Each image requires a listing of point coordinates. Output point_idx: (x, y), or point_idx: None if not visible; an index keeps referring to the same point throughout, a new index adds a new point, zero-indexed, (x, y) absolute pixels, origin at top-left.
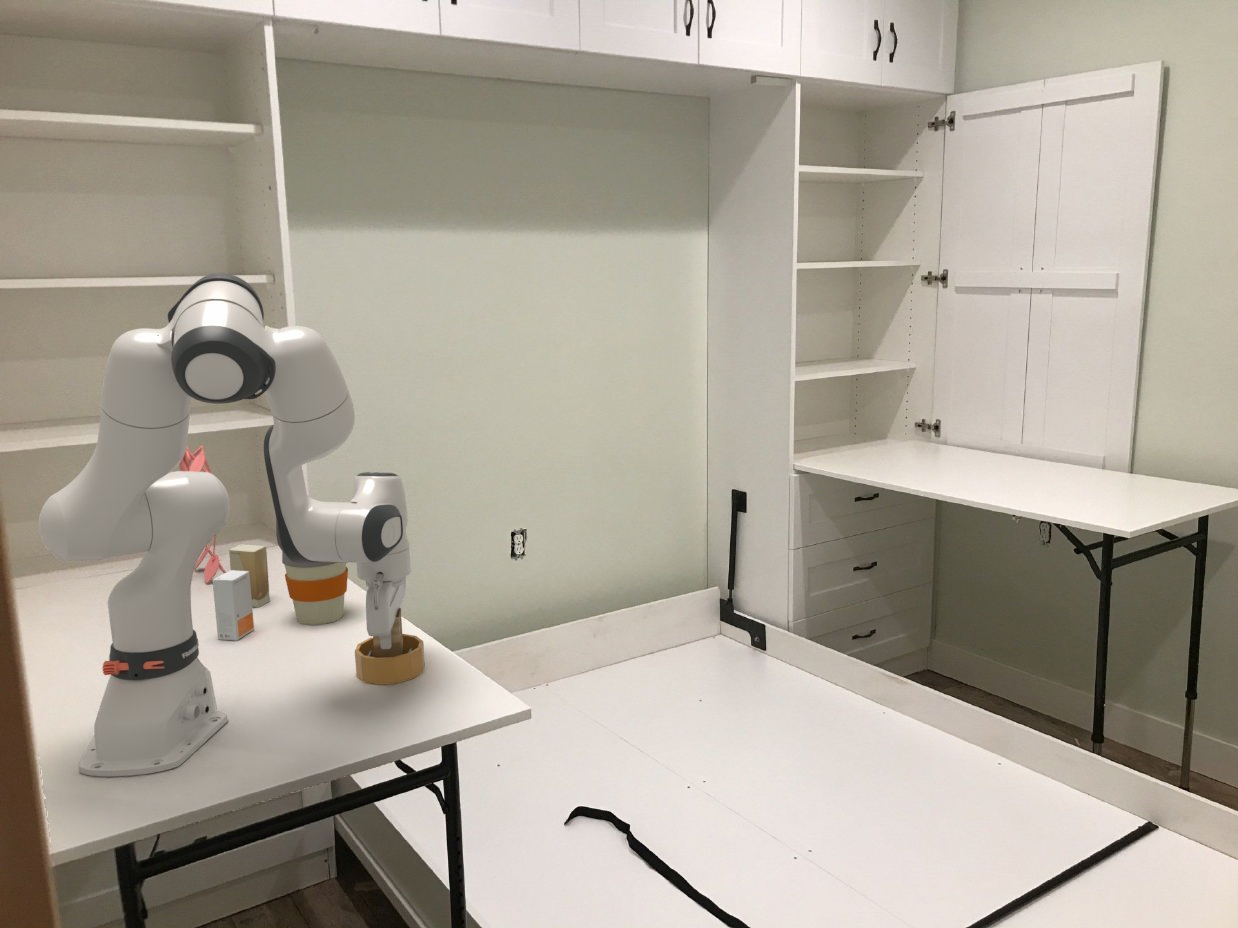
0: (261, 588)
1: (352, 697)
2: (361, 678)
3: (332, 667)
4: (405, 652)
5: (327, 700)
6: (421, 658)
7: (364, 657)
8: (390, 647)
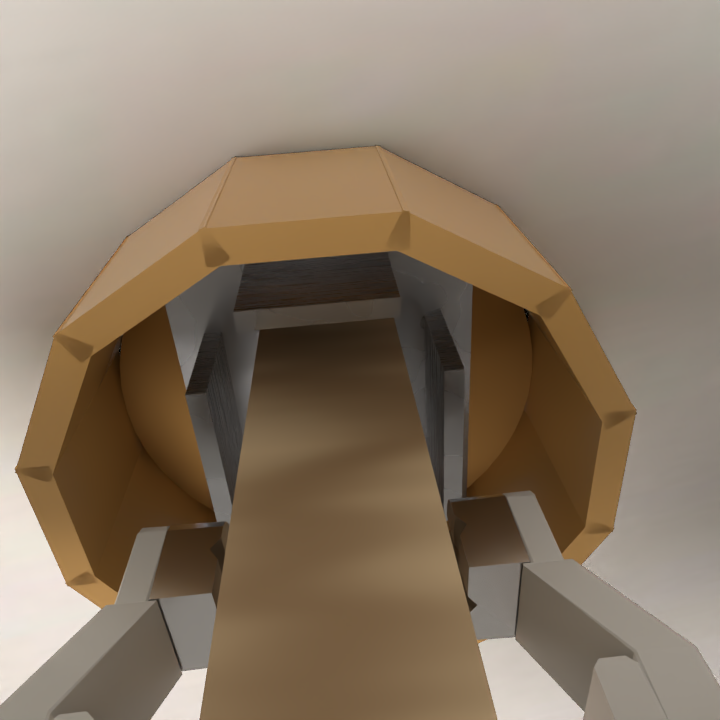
0: None
1: (686, 480)
2: None
3: None
4: (112, 352)
5: (681, 567)
6: (400, 180)
7: None
8: (530, 494)
